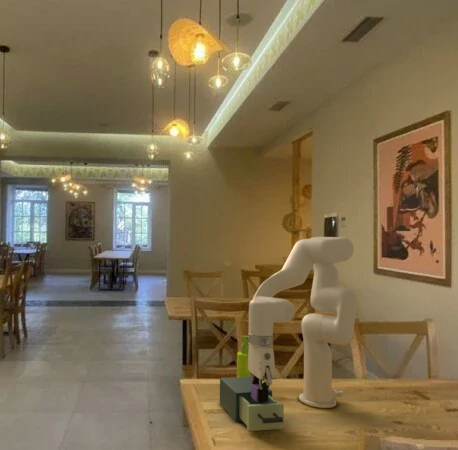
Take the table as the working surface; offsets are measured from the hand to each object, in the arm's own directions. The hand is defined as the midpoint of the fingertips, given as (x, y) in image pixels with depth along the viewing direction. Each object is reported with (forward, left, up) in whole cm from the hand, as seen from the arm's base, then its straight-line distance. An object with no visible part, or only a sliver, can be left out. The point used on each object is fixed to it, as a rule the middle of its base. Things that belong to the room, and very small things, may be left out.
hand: (259, 398), depth 129 cm
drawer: (0, 0, -8) cm, 8 cm away
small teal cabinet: (0, -11, -9) cm, 14 cm away
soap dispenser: (-10, -33, -9) cm, 36 cm away
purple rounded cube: (0, 0, 0) cm, 0 cm away
